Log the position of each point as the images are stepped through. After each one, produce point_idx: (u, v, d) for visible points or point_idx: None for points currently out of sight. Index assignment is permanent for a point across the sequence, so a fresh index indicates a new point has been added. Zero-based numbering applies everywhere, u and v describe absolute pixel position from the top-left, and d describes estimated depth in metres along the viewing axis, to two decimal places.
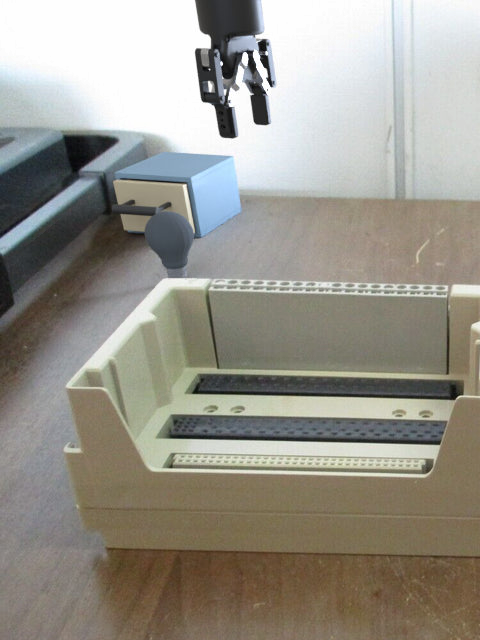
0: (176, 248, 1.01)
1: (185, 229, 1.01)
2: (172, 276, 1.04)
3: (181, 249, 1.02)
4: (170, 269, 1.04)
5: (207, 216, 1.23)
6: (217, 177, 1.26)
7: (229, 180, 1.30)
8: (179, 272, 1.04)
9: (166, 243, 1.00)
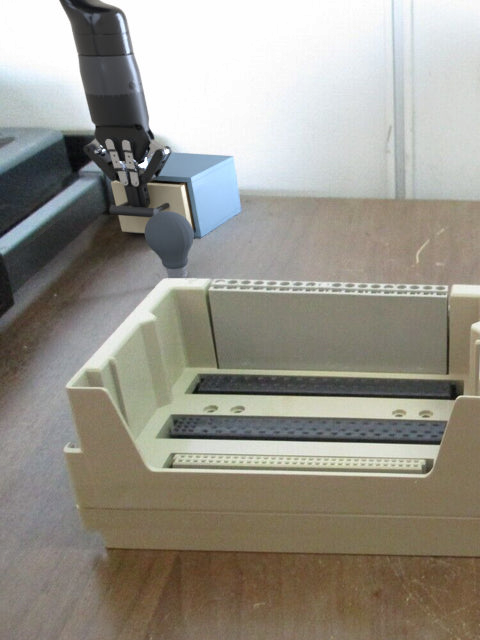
0: (176, 248, 1.01)
1: (185, 229, 1.01)
2: (171, 276, 1.04)
3: (181, 249, 1.02)
4: (170, 269, 1.04)
5: (207, 216, 1.23)
6: (217, 177, 1.26)
7: (229, 180, 1.30)
8: (179, 272, 1.04)
9: (166, 243, 1.00)
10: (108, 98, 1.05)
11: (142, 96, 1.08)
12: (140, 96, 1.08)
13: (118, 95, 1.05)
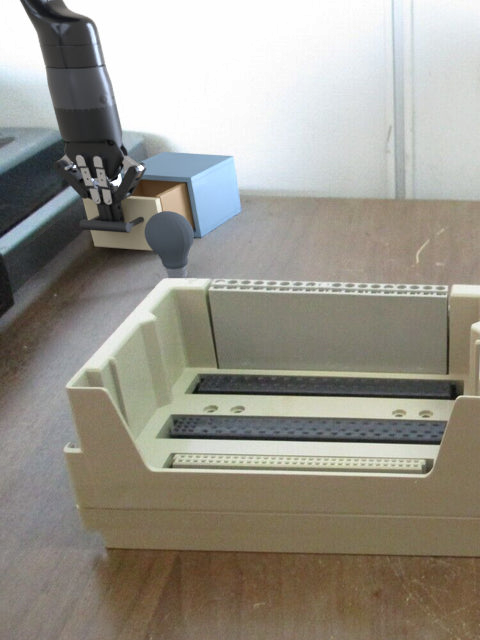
0: (176, 248, 1.01)
1: (185, 229, 1.01)
2: (171, 276, 1.04)
3: (181, 249, 1.02)
4: (170, 269, 1.04)
5: (207, 216, 1.23)
6: (217, 177, 1.26)
7: (229, 180, 1.30)
8: (179, 272, 1.04)
9: (166, 243, 1.00)
10: (77, 112, 0.99)
11: (114, 110, 1.02)
12: (112, 110, 1.02)
13: (88, 110, 0.99)
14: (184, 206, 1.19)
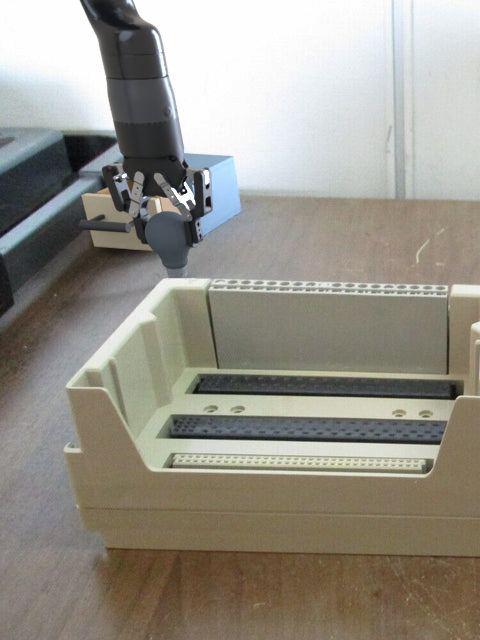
0: (176, 248, 1.01)
1: None
2: (172, 276, 1.04)
3: (181, 249, 1.02)
4: (170, 269, 1.04)
5: (207, 216, 1.23)
6: (217, 177, 1.26)
7: (229, 180, 1.30)
8: (179, 272, 1.04)
9: (166, 243, 1.00)
10: (139, 126, 0.92)
11: (177, 124, 0.95)
12: (175, 124, 0.95)
13: (151, 124, 0.92)
14: None
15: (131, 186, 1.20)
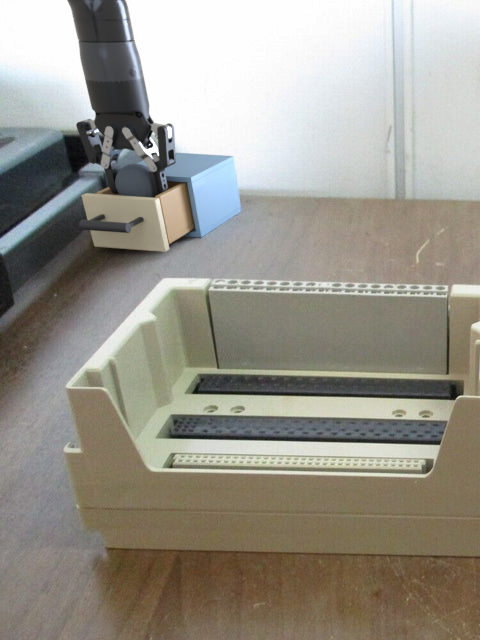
0: (143, 196, 1.13)
1: None
2: None
3: None
4: None
5: (207, 216, 1.23)
6: (217, 177, 1.26)
7: (229, 180, 1.30)
8: None
9: (134, 191, 1.12)
10: (108, 84, 1.04)
11: (142, 83, 1.08)
12: (140, 83, 1.07)
13: (118, 82, 1.05)
14: (184, 206, 1.19)
15: None
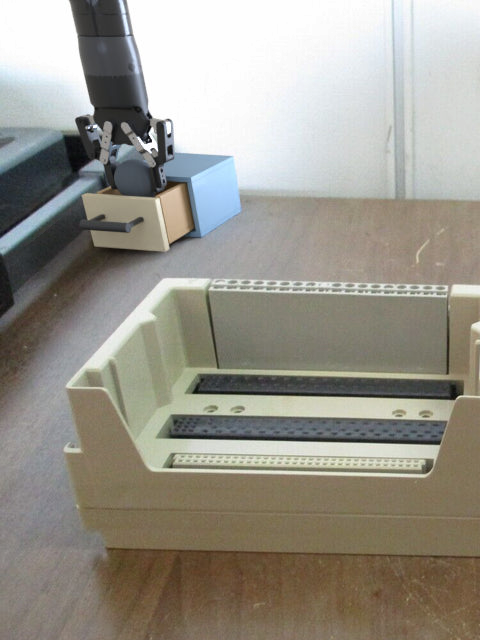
0: (142, 192, 1.13)
1: None
2: None
3: (147, 193, 1.14)
4: None
5: (207, 216, 1.23)
6: (217, 177, 1.26)
7: (229, 180, 1.30)
8: None
9: (132, 187, 1.12)
10: (107, 79, 1.04)
11: (141, 78, 1.08)
12: (139, 78, 1.07)
13: (117, 77, 1.04)
14: (184, 206, 1.19)
15: None
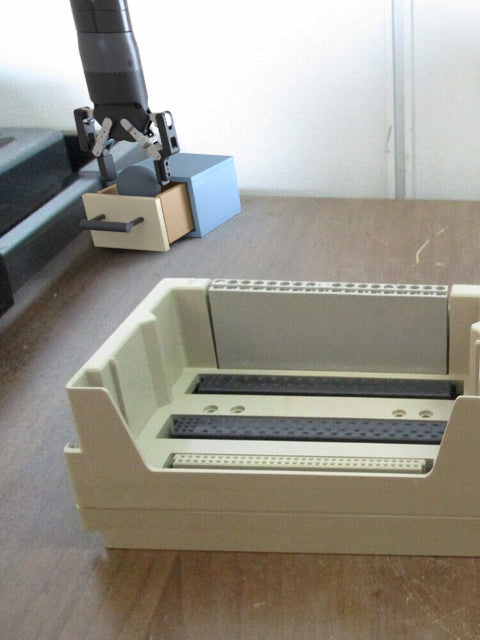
0: None
1: (152, 181, 1.14)
2: None
3: None
4: None
5: (207, 216, 1.23)
6: (217, 177, 1.26)
7: (229, 180, 1.30)
8: None
9: (134, 193, 1.12)
10: (106, 75, 1.04)
11: (141, 74, 1.07)
12: (139, 74, 1.07)
13: (117, 73, 1.04)
14: (184, 206, 1.19)
15: None
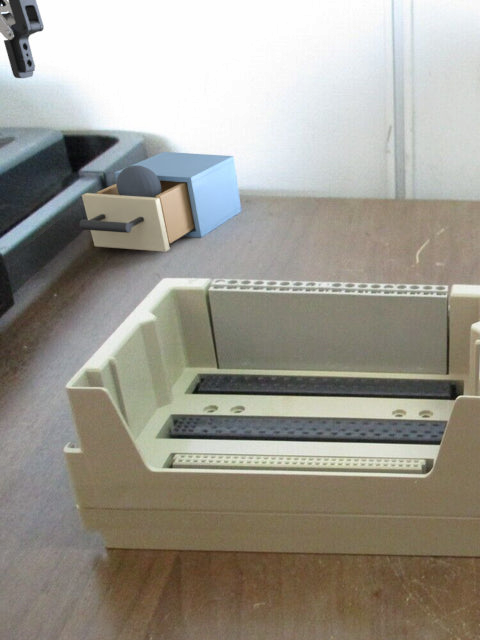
0: None
1: (153, 181, 1.14)
2: None
3: None
4: None
5: (207, 216, 1.23)
6: (217, 177, 1.26)
7: (229, 180, 1.30)
8: None
9: (135, 193, 1.12)
10: None
11: None
12: None
13: None
14: (184, 206, 1.19)
15: None
